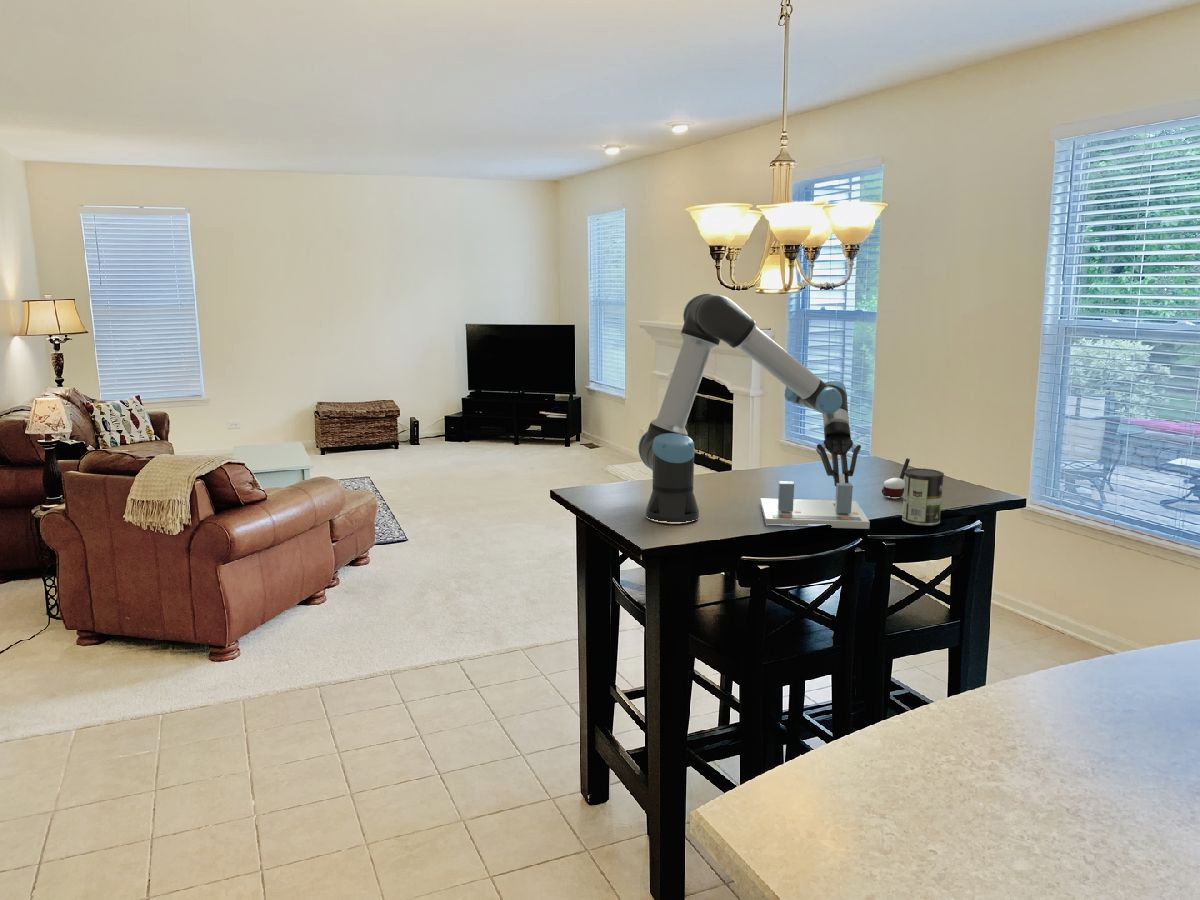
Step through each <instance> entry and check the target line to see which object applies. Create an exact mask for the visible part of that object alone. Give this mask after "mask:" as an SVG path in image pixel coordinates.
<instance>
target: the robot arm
mask: <svg viewBox="0 0 1200 900" xmlns="http://www.w3.org/2000/svg"><path fill="white" fill-rule="evenodd" d="M682 318H683V325H682V329H681V332H680V335H681V338H682V340H683V342H682V343H681V348H680V351H679V353H678V356H677V360H676V362H675V365H674V367H673V371H672V374H671V377H670V380H669V383H668V385H667V389H666V392H665V395H664V398H663V401H662V403H661V406H660V409H659V412H658V415H657V417H656V418H655V419H653V420H651V421H650V423H649V426H648V428H647V431H646V432H645V433H643V435H642V436H641V438H640V440H639V441H638V455H639V456H640V460H642V463H643V464H644V465H645V466H646V467H647V468H649V469H650V470H651V471H652V490H651V493H650V497H649V500H648V503H647V505H646V509H645V517H646V516H647V517H648V518H650V519H654V520H658V521H667V522H686V521H692V520H696V519H698V518H700V510H699V507H698V503H697V500H696V496H695V494H694V476H695V475H694V474H695V454H696V450H695V442H694V441H693V439H692V438H691V437H689V436H688V431H687V429H686V425H687V422H688V418H689V417H690V413H691V410H692V407H693V404H694V401H695V398H696V396H697V393H698V391H699V387H700V384H701V381H702V379H703V375H704V372H705V369H706V367H707V364H708V360H709V358H710V355H711V352H712V350H714V349H715V348H717V347H719V345H720V342H721V341H722V342H724V343H725V344H728V346H730V347H731V348H732V349H736V348H738V349H739V350H741V351H742V352H743V353H745V354H746V355H747V356H748V357H750V358H751V359H752V360H753V361H754V362H755V363H757V364H758V365H759V366H760V367H762V368H763V369H764V370H766V371H767V372H768V373H770V374H771V375H772V376H773V377H775V378H776V379H777V380H778V381H779V382H781V383H782V384H783V385H784V386H785V389H784V392H783V393H784V400H786V401H787V402H790V403H793V404H797V405H800V406H803V407H806V408H808V409H811V410H814V411H817V412H819V413H820V414H822V419H823V420H822V421H823V436H824V438H823V439H824V440H823V443H821V444H819V443H817V444H816V445H817V446H816V449H815V451H816V452H817V453H818V455H819V456H820V459H821V461H822V463H823V468H824V470H825V472H826V475H827V476H828V477H832V478H833V482H834V483H833V484H834V487H835V488H836V483H850V482H849V477H853V476H854V473H855V469H856V464H857V459H858V455H859V453H860V451H861V449H862V445H861V444H855V443H854V441H853V439H852V437H851V435H852V434H851V427H850V418H849V417H850V416H849V406H848V393H847V389H846V385H845V383H843V382H842V381H840V380H837V379H836V380H827V381H825V382H824V381H823V380H821V379H820V378H819V377H818V376H817V375H816V374H814V373H813V372H812V371H811V370H810V369H808V368H807V367H806V366H805V365H803V364H802V363H801V362H800V361H798V360H797V359H796V358H795V357H794V356H793V355H791V354H790V353H789V352H787V351H786V350H785V349H784V348H783V347H782V346H780V345H779V344H778V343H777V342H775V340H773V339H772V338H771V337H770V336H768V334H766V333H764V332H763V331H762V330H761V329H759V327H757V323H756V320H755V319H753V318H752V317H751V316H750V315H749V314H748V313H747V312H746V311H744V310H743V309H742V308H741V307H740V306H739V305H738V304H737V303H736V302H734V301H733V300H732V299H730V297H729V298H728V297H727V296H724V295H719V294H717V295H716V294H712V293H711V294H710V293H703V294H699V295H696V296H694V297H692V298H691V299H690V300H689V301H688V302H687V304H686V305H685V306H684V309H683V314H682ZM826 450H827V451H828V452H829V453H830V454H831V462H830V460H829V457H828V454H827V452H826ZM850 450H851V452H852V456H851V460H850V467H849V466H848V458H847V453H848V452H849V451H850ZM838 456H839V458H840V464H841V472H842V473H840V471H839V470H840V469H839V458H838ZM831 465H832V466H831ZM848 467H849V469H848ZM698 520H699V519H698Z"/></svg>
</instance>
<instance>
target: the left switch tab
mask: <svg viewBox="0 0 1200 900" xmlns="http://www.w3.org/2000/svg"><path fill="white" fill-rule="evenodd" d="M777 491H778V495H777V499H778V511H793V500H794V499H795V498H794V497H795V483H794V481H790V480H787V481H786V480H784V481H781V480H779V481H778V490H777Z"/></svg>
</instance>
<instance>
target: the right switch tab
mask: <svg viewBox="0 0 1200 900" xmlns="http://www.w3.org/2000/svg"><path fill="white" fill-rule="evenodd" d="M853 489H854V488H853V484H852V483H850V482H849V483H836V487H835V499H834V500H835V511H836V513H851V505H852V501H853Z"/></svg>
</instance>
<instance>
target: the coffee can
mask: <svg viewBox="0 0 1200 900" xmlns="http://www.w3.org/2000/svg"><path fill="white" fill-rule="evenodd" d="M944 476H945V474H944V472H943V471H941V470H937V469H932V468H931V469H930V468H918V467H917V468H909V469H908V468H907V470H905V476H904V481H905V486H904V493H903V504H902V514H901V515H902V518H901V520H902V521H903V522H905V523H908V524H912V525H917V526H936V525H938V524H940V523H941V510H942V498H943V484H944Z"/></svg>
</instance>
